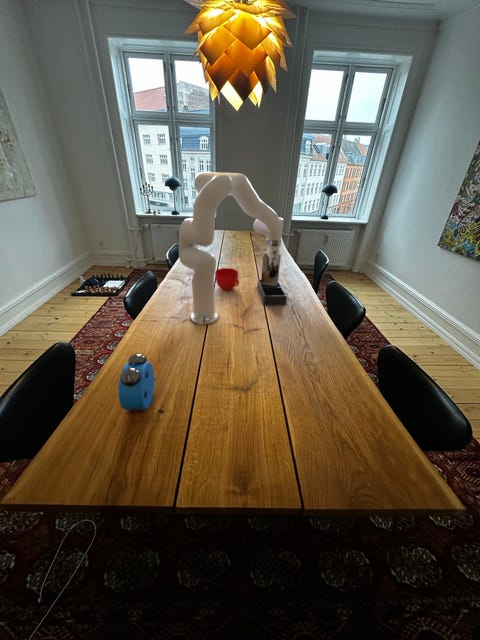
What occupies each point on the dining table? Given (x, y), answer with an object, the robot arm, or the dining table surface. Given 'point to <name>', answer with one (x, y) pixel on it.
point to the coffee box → (265, 272)
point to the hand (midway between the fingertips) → (270, 274)
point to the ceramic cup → (226, 278)
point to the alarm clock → (136, 383)
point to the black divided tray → (272, 294)
